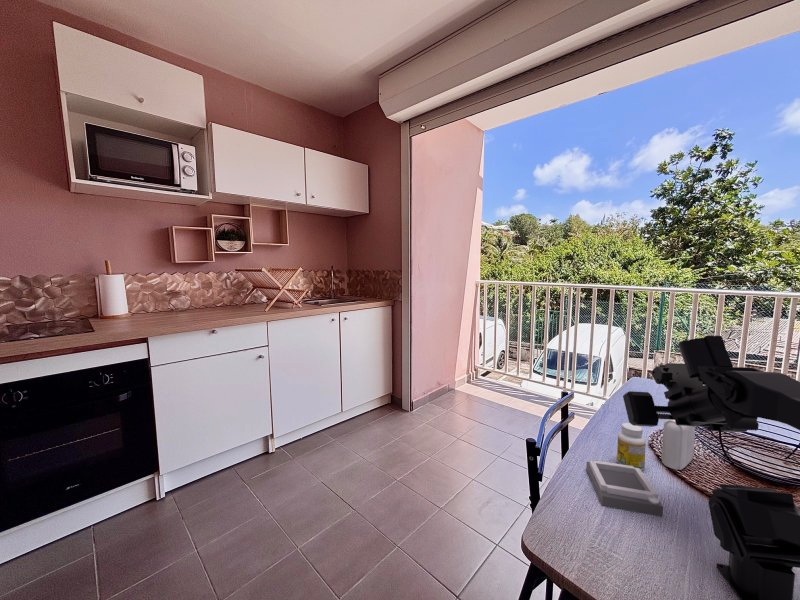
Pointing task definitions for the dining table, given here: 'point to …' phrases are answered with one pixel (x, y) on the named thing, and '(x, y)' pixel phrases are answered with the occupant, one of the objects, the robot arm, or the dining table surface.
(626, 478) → the grey square tray
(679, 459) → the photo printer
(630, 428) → the supplement bottle
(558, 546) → the dining table surface
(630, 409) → the robot arm
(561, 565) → the dining table surface
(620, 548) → the dining table surface
